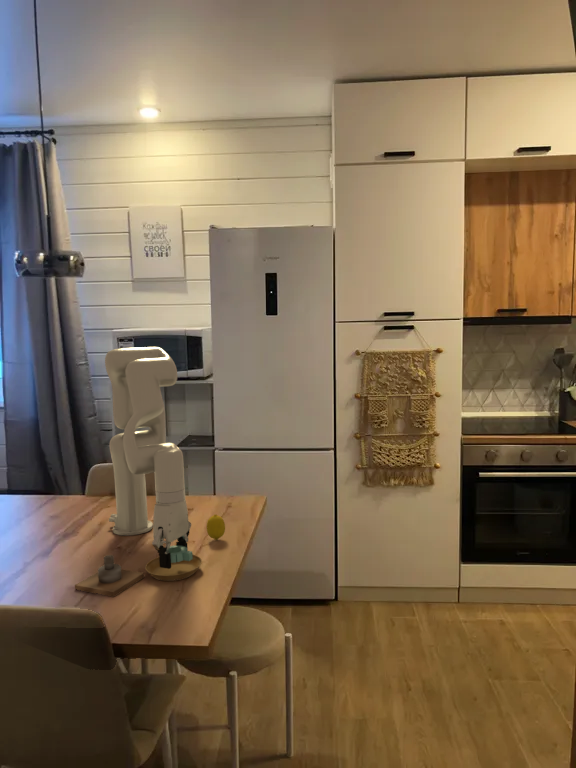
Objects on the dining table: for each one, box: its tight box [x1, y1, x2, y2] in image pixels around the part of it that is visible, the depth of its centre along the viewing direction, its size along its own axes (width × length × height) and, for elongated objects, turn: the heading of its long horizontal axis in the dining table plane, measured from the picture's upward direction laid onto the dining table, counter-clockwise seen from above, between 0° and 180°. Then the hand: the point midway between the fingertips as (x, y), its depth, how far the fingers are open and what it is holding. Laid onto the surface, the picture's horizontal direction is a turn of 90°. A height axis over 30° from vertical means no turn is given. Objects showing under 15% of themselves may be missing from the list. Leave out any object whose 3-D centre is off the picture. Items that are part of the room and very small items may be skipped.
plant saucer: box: [144, 553, 203, 582], centre depth 160 cm, size 15×15×3 cm
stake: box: [74, 554, 145, 598], centre depth 154 cm, size 12×12×7 cm
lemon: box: [206, 514, 226, 541], centre depth 183 cm, size 6×6×8 cm
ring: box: [169, 544, 193, 563], centre depth 159 cm, size 9×7×2 cm
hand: (174, 561), depth 159 cm, fingers closed on ring, 7 cm apart
